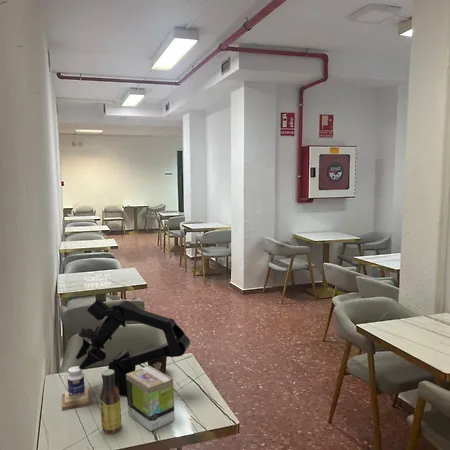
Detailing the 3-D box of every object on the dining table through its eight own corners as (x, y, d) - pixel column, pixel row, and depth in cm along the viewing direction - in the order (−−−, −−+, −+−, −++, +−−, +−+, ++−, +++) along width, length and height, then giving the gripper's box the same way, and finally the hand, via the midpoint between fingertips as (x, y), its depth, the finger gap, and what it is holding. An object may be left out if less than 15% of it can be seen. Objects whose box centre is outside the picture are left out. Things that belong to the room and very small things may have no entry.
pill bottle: (74, 400, 156) (72, 374, 154) (65, 395, 159) (63, 369, 158) (88, 393, 160) (86, 367, 159) (79, 389, 164) (77, 363, 162)
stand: (90, 391, 166) (90, 385, 166) (91, 404, 157) (91, 398, 157) (62, 397, 163) (62, 391, 163) (62, 410, 154) (61, 404, 153)
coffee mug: (171, 370, 182) (170, 347, 181) (163, 380, 174) (162, 356, 173) (145, 368, 185) (144, 346, 184) (136, 378, 176) (135, 354, 175)
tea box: (176, 420, 146) (174, 378, 144) (150, 432, 139) (147, 388, 137) (152, 403, 157) (149, 363, 155) (127, 413, 150) (124, 373, 149)
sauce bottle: (104, 424, 144) (100, 367, 142) (123, 423, 145) (119, 366, 142) (100, 436, 138) (95, 376, 135) (120, 434, 138) (116, 375, 136)
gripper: (86, 309, 168) (58, 342, 165) (94, 325, 151) (63, 362, 148) (108, 326, 172) (81, 358, 169) (118, 342, 156) (88, 378, 152)
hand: (78, 363), depth 160 cm, fingers open, 9 cm apart
